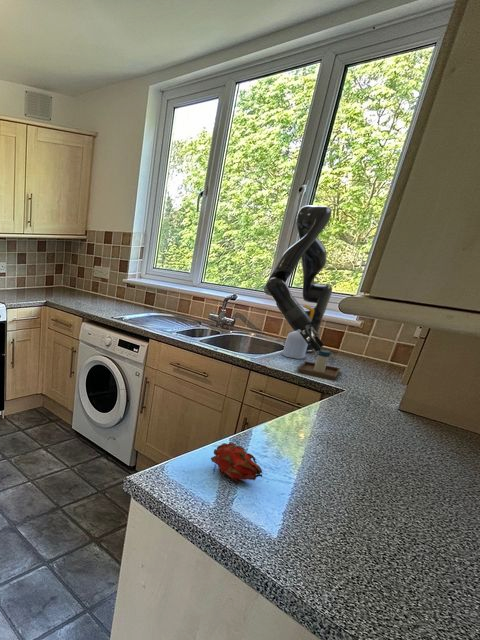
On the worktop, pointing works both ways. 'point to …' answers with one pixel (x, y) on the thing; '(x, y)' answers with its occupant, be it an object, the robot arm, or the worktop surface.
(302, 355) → the soap bottle
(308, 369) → the tray
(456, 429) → the worktop surface
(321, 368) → the shaving stick
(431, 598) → the worktop surface
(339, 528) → the worktop surface
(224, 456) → the dragon fruit
